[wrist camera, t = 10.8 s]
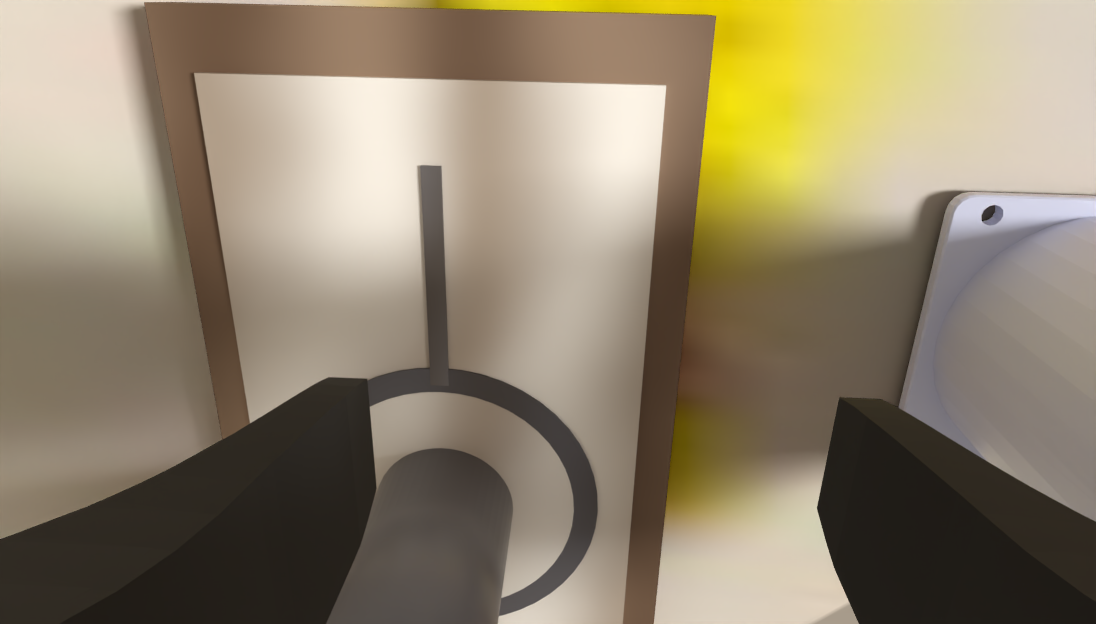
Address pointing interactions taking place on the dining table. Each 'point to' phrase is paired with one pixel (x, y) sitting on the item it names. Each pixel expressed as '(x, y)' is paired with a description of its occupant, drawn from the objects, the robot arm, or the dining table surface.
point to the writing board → (457, 250)
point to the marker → (431, 545)
